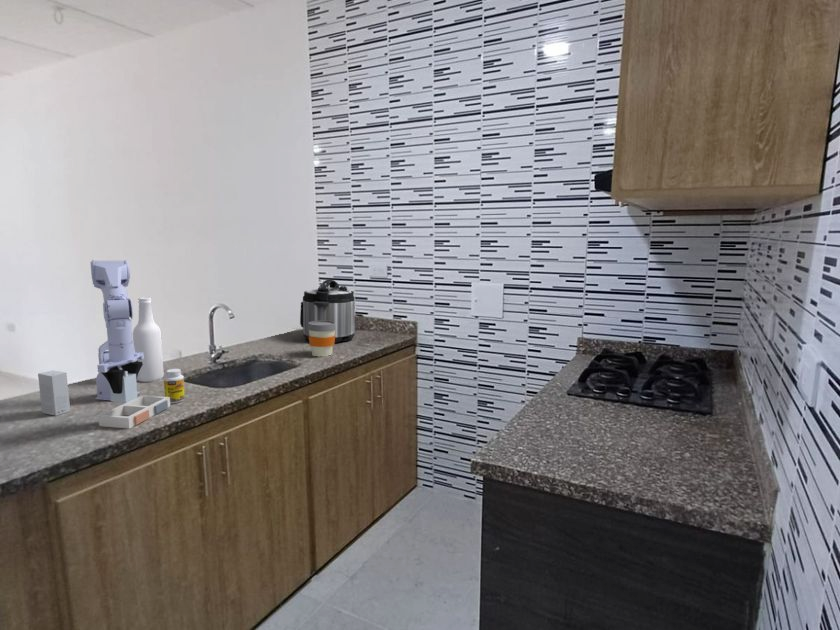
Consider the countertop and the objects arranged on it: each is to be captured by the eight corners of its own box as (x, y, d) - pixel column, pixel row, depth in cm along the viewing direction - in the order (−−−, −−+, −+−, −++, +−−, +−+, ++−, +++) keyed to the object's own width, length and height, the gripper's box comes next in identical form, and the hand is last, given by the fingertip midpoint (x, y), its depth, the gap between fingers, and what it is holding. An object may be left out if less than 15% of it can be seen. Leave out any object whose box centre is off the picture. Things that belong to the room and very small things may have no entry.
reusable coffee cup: (327, 359, 199) (327, 326, 197) (302, 356, 203) (302, 323, 200) (340, 353, 211) (340, 321, 208) (317, 350, 215) (317, 319, 212)
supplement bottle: (166, 405, 140) (164, 373, 138) (164, 399, 145) (162, 369, 143) (186, 402, 143) (184, 371, 141) (183, 397, 148) (182, 367, 146)
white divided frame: (99, 426, 123) (98, 415, 123) (143, 404, 140) (142, 395, 140) (131, 428, 122) (130, 418, 122) (172, 406, 139) (171, 397, 139)
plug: (111, 401, 124) (109, 373, 123) (123, 396, 129) (121, 368, 127) (125, 402, 124) (123, 374, 123) (137, 397, 128) (135, 369, 127)
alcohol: (133, 383, 159) (126, 299, 154) (139, 376, 168) (133, 296, 163) (161, 381, 162) (155, 299, 157) (166, 374, 170) (161, 296, 166)
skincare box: (71, 411, 133) (67, 372, 131) (55, 416, 129) (51, 376, 127) (57, 408, 135) (53, 369, 133) (41, 413, 131) (36, 373, 129)
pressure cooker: (332, 331, 261) (332, 276, 256) (367, 338, 243) (368, 280, 238) (288, 338, 237) (287, 278, 232) (323, 347, 220) (323, 283, 215)
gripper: (113, 349, 116) (117, 400, 118) (152, 338, 130) (155, 383, 133) (88, 348, 117) (92, 398, 119) (130, 336, 131) (133, 381, 133)
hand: (124, 390), depth 126 cm, fingers closed on plug, 4 cm apart
